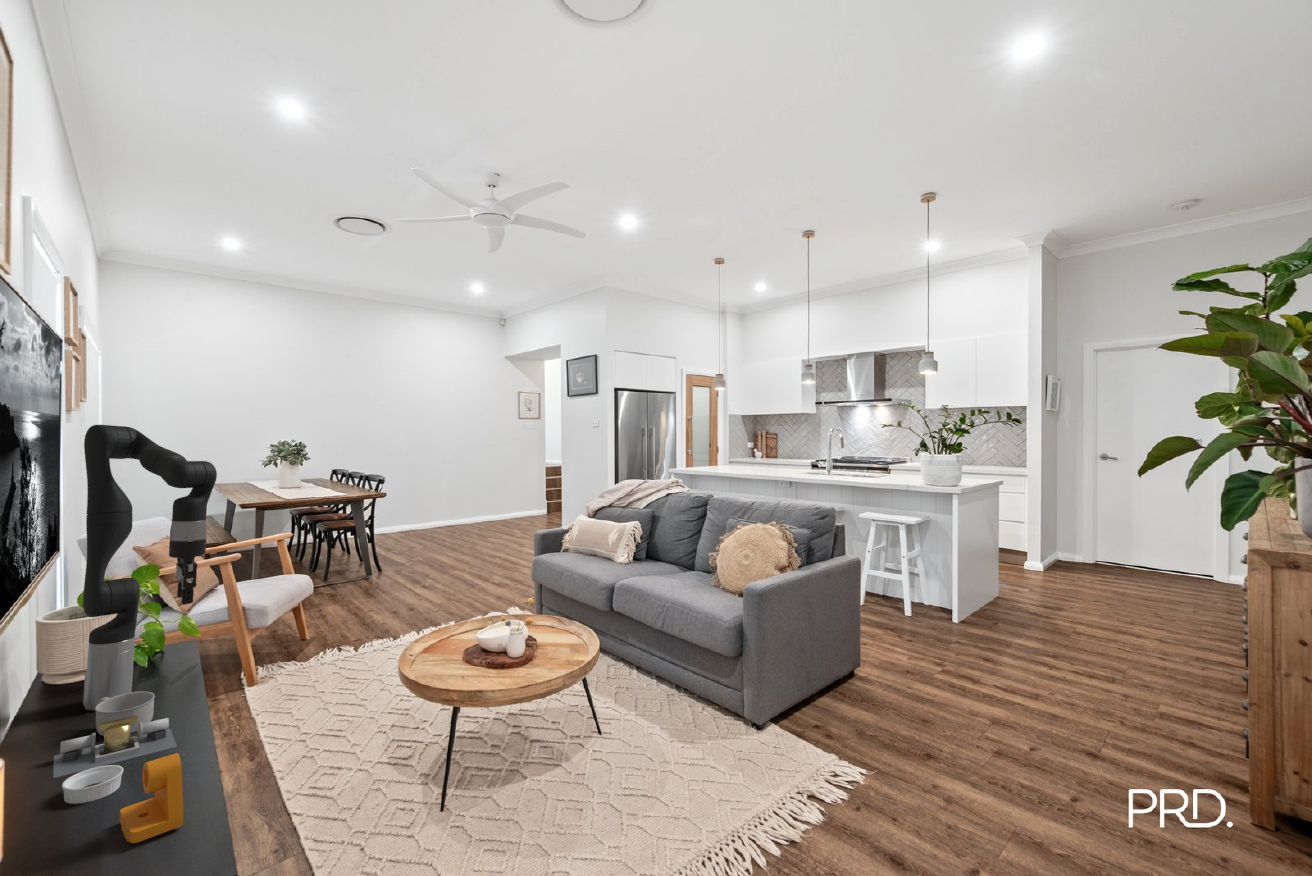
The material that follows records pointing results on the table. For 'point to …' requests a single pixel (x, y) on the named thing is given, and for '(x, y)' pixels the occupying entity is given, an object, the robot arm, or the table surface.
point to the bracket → (156, 801)
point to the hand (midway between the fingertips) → (184, 600)
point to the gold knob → (117, 734)
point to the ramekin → (104, 774)
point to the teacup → (125, 708)
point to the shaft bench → (93, 756)
